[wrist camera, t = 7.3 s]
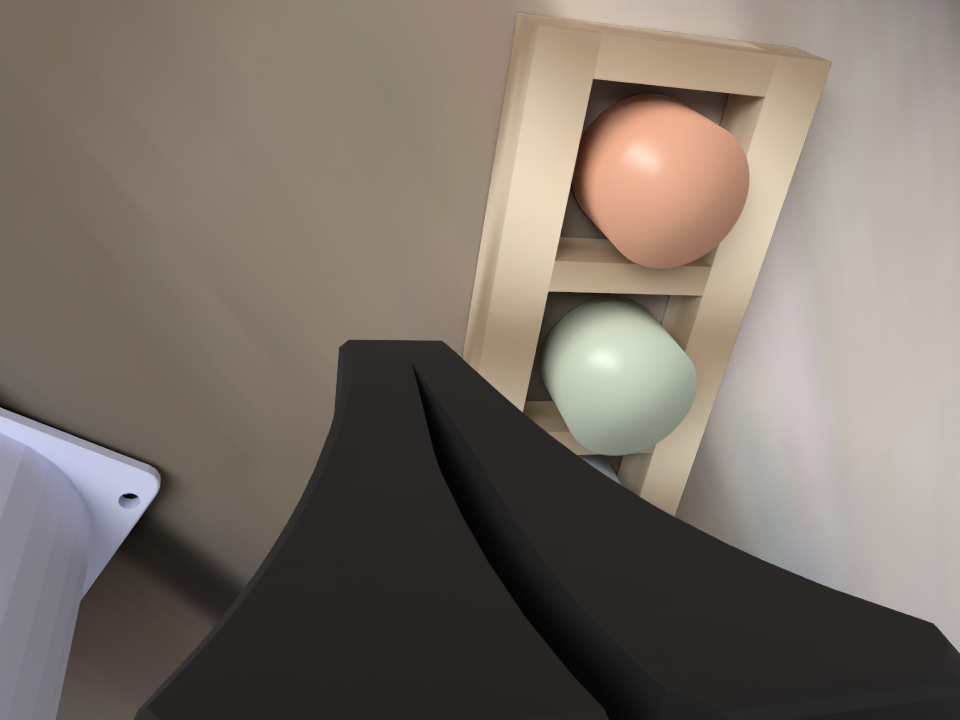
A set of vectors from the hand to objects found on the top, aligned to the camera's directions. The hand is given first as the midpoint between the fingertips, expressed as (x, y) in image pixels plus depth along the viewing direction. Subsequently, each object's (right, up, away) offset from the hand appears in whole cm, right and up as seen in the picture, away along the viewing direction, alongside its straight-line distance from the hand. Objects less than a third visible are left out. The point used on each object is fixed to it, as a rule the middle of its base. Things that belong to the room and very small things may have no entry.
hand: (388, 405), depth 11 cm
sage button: (+4, +1, +12) cm, 13 cm away
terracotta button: (+5, +6, +10) cm, 12 cm away
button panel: (+4, +1, +12) cm, 13 cm away
